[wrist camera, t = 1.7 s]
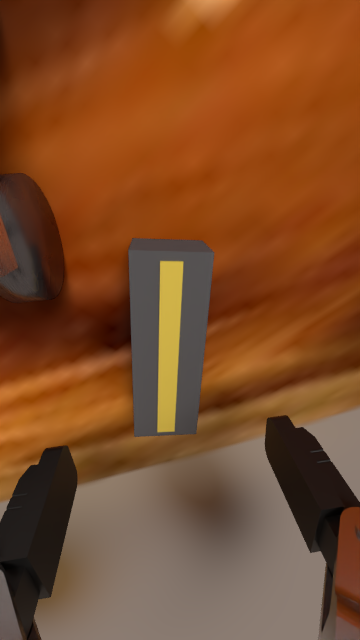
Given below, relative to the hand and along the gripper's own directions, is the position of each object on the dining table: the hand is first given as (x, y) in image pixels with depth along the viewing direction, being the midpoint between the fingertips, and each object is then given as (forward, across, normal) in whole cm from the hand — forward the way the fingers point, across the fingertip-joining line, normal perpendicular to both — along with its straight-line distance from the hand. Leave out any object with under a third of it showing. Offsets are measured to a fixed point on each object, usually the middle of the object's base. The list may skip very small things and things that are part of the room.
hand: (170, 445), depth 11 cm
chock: (+10, 0, 0) cm, 10 cm away
